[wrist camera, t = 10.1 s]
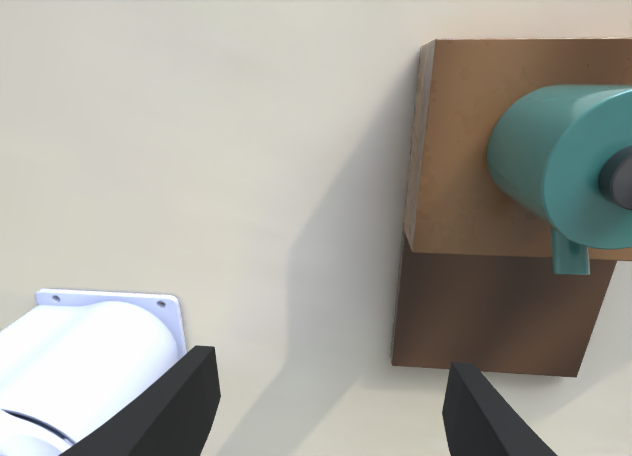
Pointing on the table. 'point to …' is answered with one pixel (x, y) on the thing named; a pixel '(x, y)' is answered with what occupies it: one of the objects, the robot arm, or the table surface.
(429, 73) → the tier stand
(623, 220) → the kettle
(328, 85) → the table surface
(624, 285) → the table surface
